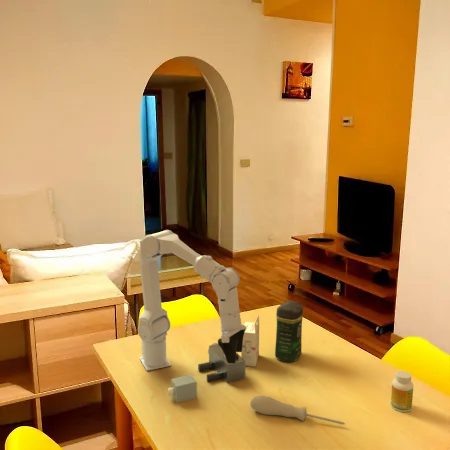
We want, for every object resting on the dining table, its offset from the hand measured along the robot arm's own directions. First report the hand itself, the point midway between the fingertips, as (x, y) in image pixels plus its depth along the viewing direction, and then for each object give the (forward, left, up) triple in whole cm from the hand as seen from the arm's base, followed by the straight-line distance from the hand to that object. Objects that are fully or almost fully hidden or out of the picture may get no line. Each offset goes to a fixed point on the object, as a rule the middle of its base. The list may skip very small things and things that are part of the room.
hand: (235, 357), depth 134 cm
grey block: (-3, -15, -10) cm, 18 cm away
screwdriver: (+19, +9, -11) cm, 24 cm away
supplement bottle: (+27, +37, -10) cm, 47 cm away
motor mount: (-12, 0, -10) cm, 16 cm away
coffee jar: (-11, +25, -10) cm, 29 cm away
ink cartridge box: (-14, +12, -10) cm, 21 cm away
